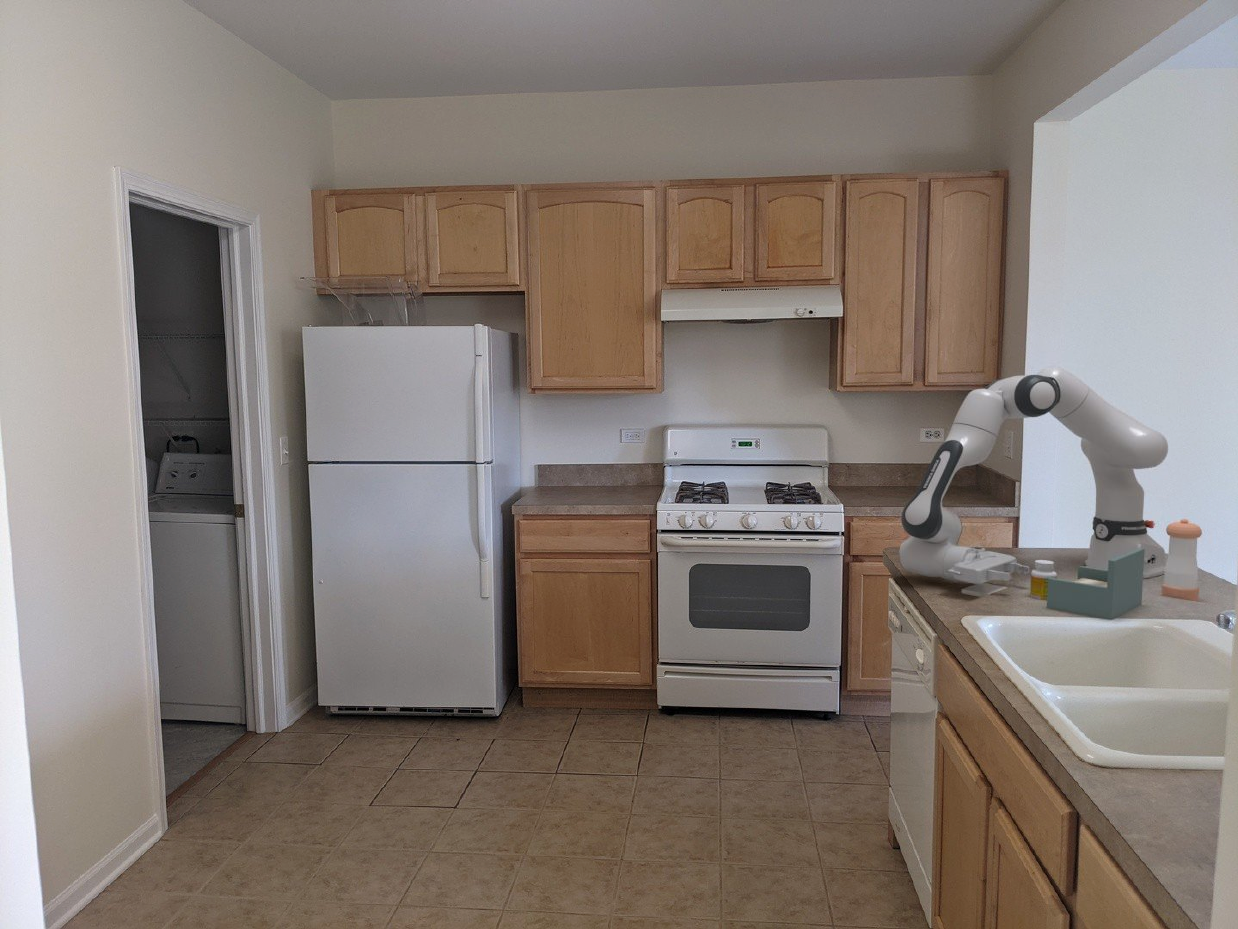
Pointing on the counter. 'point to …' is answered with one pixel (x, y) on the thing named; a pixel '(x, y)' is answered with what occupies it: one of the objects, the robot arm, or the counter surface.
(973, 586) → the plate
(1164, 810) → the counter surface
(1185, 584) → the pepper shaker
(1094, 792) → the counter surface
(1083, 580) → the birch offcut top
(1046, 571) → the supplement bottle
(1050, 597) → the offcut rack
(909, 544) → the robot arm
